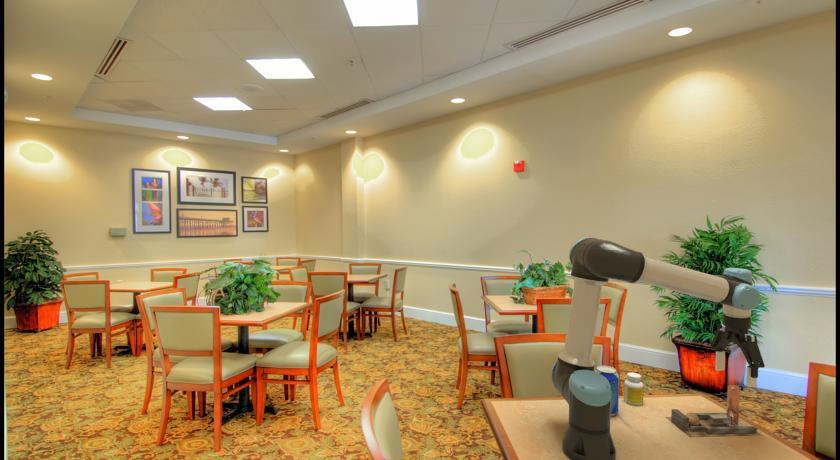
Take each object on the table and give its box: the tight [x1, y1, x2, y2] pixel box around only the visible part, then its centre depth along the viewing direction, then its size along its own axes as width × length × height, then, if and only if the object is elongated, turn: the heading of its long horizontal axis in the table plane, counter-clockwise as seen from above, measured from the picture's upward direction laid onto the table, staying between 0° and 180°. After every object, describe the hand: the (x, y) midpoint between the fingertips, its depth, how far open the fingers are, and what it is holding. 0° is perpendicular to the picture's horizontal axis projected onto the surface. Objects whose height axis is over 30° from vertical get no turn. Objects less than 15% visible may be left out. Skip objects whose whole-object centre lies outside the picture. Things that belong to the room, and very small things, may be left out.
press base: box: [665, 408, 764, 438], centre depth 142 cm, size 24×13×6 cm, turn 92°
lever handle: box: [708, 384, 748, 427], centre depth 142 cm, size 10×7×13 cm
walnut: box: [684, 412, 700, 426], centre depth 142 cm, size 4×4×4 cm
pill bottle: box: [623, 372, 645, 407], centre depth 159 cm, size 6×6×12 cm
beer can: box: [594, 365, 620, 418], centre depth 154 cm, size 8×8×16 cm
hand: (734, 378), depth 141 cm, fingers open, 13 cm apart
